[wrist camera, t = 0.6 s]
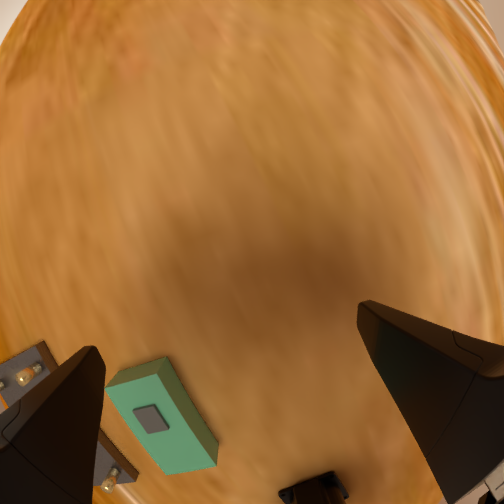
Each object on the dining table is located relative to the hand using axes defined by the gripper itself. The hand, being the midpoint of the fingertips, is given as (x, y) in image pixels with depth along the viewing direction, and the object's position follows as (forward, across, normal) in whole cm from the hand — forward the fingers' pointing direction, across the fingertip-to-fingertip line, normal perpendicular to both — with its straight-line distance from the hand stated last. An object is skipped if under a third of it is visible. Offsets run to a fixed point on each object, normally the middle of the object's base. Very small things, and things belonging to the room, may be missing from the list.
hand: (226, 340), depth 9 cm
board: (+9, +7, +14) cm, 19 cm away
